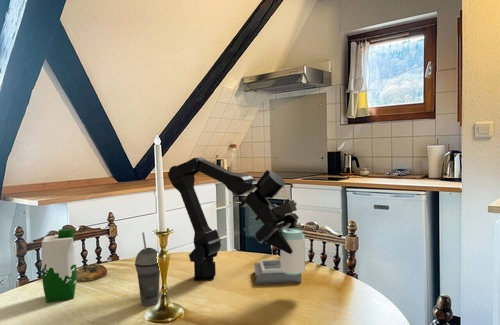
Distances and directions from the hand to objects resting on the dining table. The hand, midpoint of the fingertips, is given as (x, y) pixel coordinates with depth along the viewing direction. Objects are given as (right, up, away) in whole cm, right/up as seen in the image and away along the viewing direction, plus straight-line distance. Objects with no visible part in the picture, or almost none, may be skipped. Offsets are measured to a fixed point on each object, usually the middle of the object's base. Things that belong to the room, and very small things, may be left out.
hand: (296, 249), depth 106 cm
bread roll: (-69, -15, +22) cm, 74 cm away
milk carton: (-70, -15, +5) cm, 72 cm away
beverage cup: (-42, -15, -2) cm, 44 cm away
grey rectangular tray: (-5, -13, +16) cm, 21 cm away
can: (-1, -7, +1) cm, 7 cm away
